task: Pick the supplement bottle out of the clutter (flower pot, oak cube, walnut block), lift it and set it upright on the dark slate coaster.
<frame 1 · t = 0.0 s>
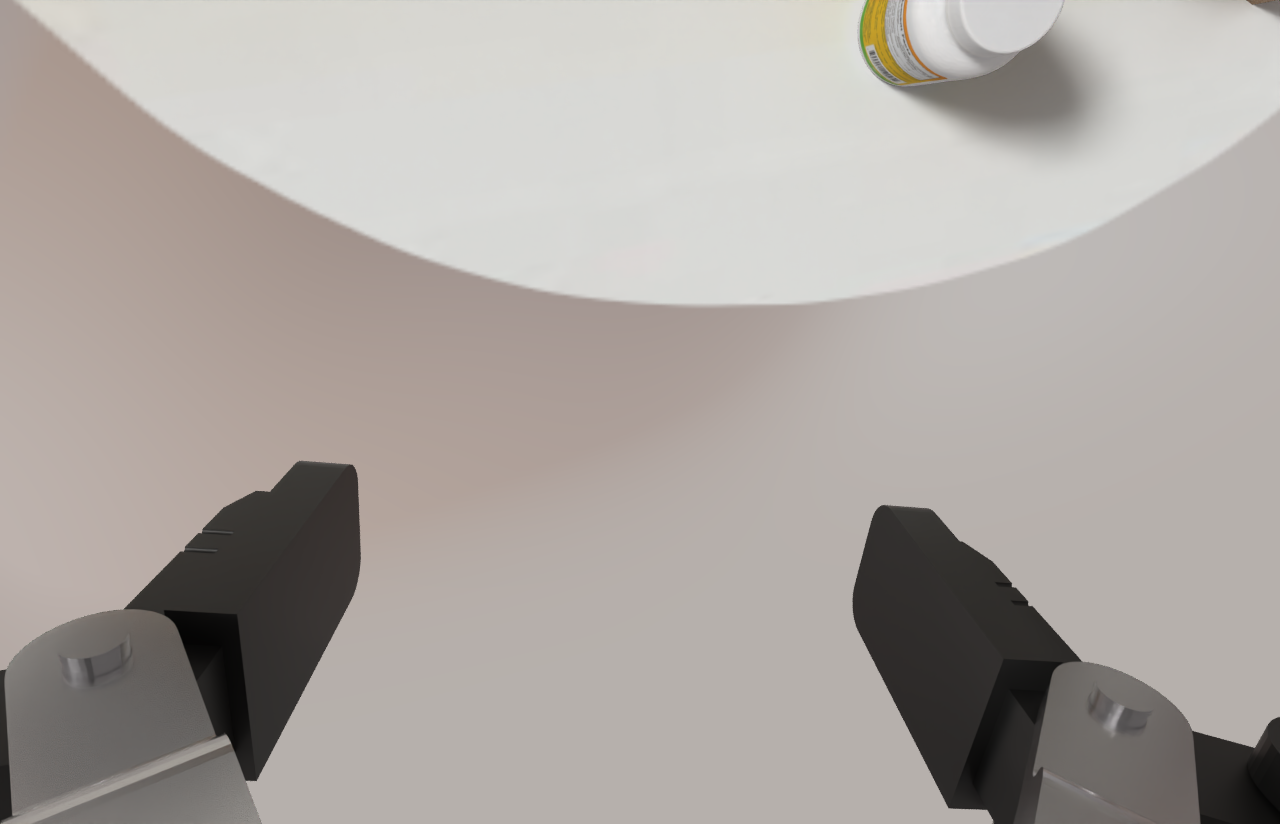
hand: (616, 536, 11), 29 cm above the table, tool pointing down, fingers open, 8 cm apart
supplement bottle: (907, 27, 35), on the table
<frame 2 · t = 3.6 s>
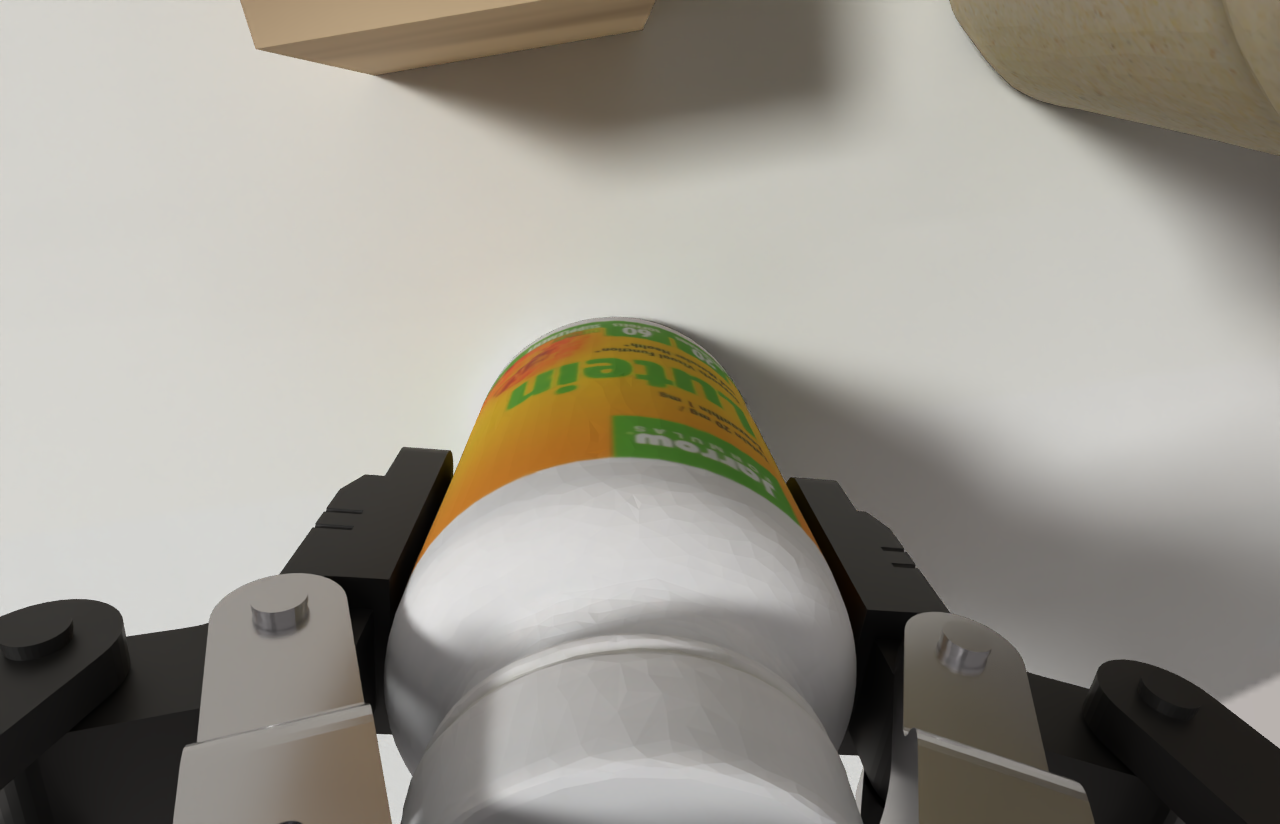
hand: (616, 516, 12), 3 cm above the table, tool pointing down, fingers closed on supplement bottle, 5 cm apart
supplement bottle: (613, 437, 15), on the table, touching gripper
when the fingers open (6 cm above the table, at t = 9.7 s): supplement bottle drops 1 cm, resting on coaster.
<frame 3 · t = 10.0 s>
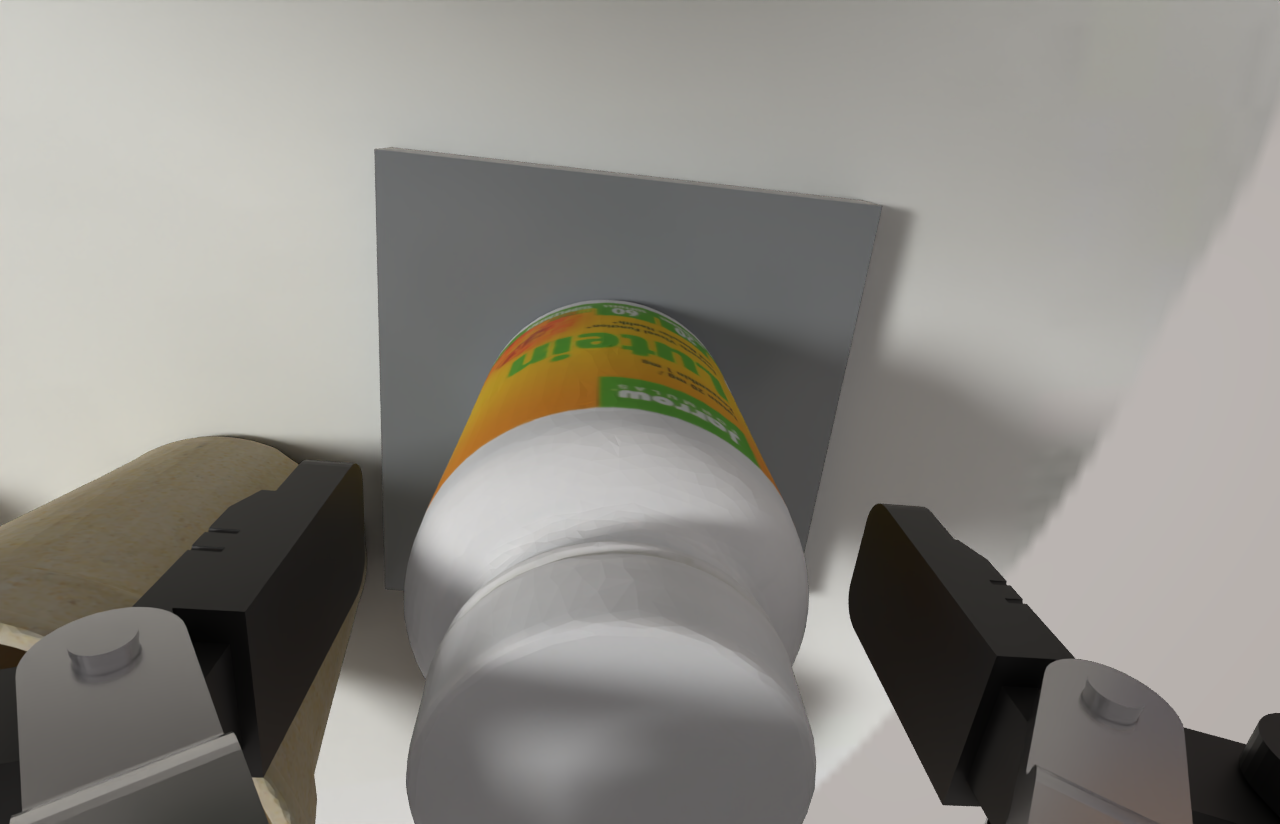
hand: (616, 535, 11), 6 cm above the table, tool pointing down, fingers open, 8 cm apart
supplement bottle: (605, 411, 16), point 1 cm above the table, touching coaster
coaster: (611, 395, 17), on the table
flower pot: (249, 543, 18), on the table
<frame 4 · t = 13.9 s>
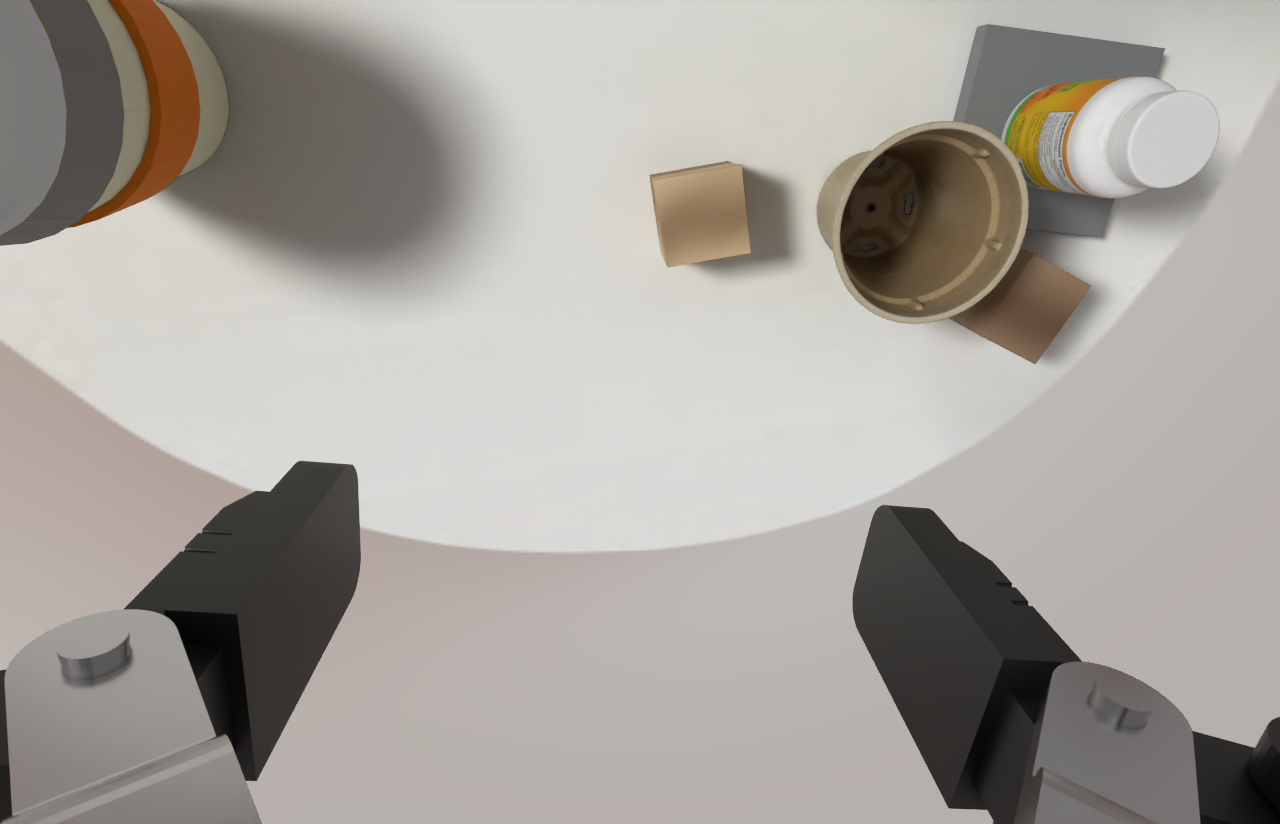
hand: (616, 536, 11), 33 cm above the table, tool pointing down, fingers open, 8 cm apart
supplement bottle: (1043, 137, 40), point 1 cm above the table, touching coaster
reusable coffee cup: (142, 88, 38), on the table
coaster: (1035, 136, 41), on the table
oak cube: (693, 208, 42), on the table
flower pot: (867, 207, 42), on the table
walnut block: (989, 291, 44), on the table
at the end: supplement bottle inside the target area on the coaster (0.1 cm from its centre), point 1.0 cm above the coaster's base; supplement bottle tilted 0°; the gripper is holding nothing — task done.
